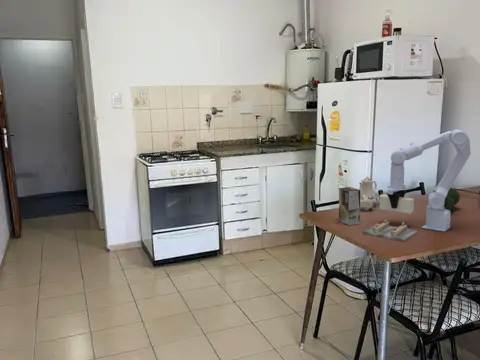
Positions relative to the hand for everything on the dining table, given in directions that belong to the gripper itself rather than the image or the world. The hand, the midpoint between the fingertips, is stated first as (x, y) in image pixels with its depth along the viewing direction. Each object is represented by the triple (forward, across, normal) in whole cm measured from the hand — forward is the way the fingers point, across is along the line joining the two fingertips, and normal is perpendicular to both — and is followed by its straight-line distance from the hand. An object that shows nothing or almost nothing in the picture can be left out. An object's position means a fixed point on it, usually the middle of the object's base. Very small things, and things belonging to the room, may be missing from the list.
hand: (396, 207), depth 196 cm
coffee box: (+9, +8, -19) cm, 22 cm away
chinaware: (+9, -26, -24) cm, 37 cm away
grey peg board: (+8, +13, +3) cm, 16 cm away
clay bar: (+2, 0, 0) cm, 2 cm away
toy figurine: (+9, -37, +10) cm, 39 cm away
